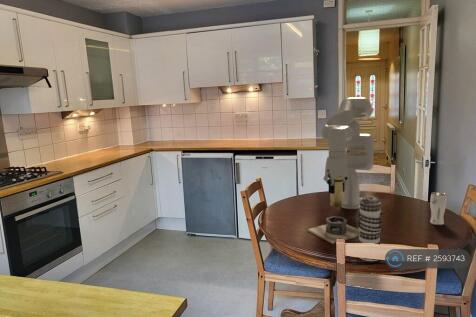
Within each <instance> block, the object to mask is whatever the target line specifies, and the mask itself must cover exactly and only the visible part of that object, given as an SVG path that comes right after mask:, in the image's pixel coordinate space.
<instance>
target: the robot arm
mask: <svg viewBox="0 0 476 317" xmlns="http://www.w3.org/2000/svg"><path fill="white" fill-rule="evenodd" d="M372 114H373V105H372V102H371V101H370V100H369V99H368V98H367V97H363V96H359V97H346V98H344V99H342V100H341V102H340V104H339V107H338V110H337V112H336V113H334V114H333V115H331V116H330V117H328V118H327V119H326V120H325V122H324V124H323V127H322V130H321V137H322V139H323V140H324V141H326V142H328V156H327V157H326V162H325V166H324V167H325V169H324V176H323V179H322V180H323V181H324V182H325V183H326V184H327V186H328V193H329V194H330V193H331V194H334V185H333V184H334V180H335V179H336V178H338V177H343V206H341V207H340V208H341V209H342V208H343V209H346V210H359V209H360V200H362V198H363V197H360V181H361V180H360V179H361V178H360V174H359V173H358V172H357V171H370V170H372V169H373V167H374V157H375V156H374V155H375V154H374V153H375V141H374V136H373V135H372V134H370V133H361V123H360V122H359V121H358V119H368V118H370V117H371V116H372ZM347 150H348V151H362V152H347ZM331 180H332V181H331Z"/></svg>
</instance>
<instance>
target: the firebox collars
mask: <svg viewBox="0 0 476 317" xmlns="http://www.w3.org/2000/svg"><path fill="white" fill-rule="evenodd" d="M334 221H335V222H334ZM338 221H340V223H337V222H338ZM325 223H326V224H327V225H326V224H325V225H326V232H328V233H330V234H336V235H341V234H345V233H346V232H347V226H345V225H348V224H347V223H348V219H347V218H345V217H343V216H334V215H333V216H329V217H326V219H325ZM332 228H340V230H336V229H332Z"/></svg>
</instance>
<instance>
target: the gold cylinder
mask: <svg viewBox="0 0 476 317" xmlns="http://www.w3.org/2000/svg"><path fill="white" fill-rule="evenodd" d="M331 181H332V180H331ZM333 185H334V194H331V193H329V194H330V196H329V198H330V202H329V205H330V206H331V207H334V208H342V207H341V206H343V177H338V178H336V179H335V180H334V184H333Z"/></svg>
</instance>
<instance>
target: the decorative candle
mask: <svg viewBox="0 0 476 317" xmlns="http://www.w3.org/2000/svg"><path fill="white" fill-rule="evenodd" d="M361 198H362V200H360V208H359V209H358V211H357V218H358V220H357V222H358V224H357V226H358V229H359V230H360V235H359V237H358V240H357V243H375V244H379V245H381V241H380V239H381V238H380V232H381V229H382V225H380V224H382V223H383V222H382V219H383V218H382V215H383V211H381V210H382V209H381V204H382V201H380V200H379V198H378V197H376V196H373V195H372V196H369V195H368V196H364V197H361ZM359 259H361V261H362V260H363V261H366V262H377V261H378V260H372V259H364V258H359Z"/></svg>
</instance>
